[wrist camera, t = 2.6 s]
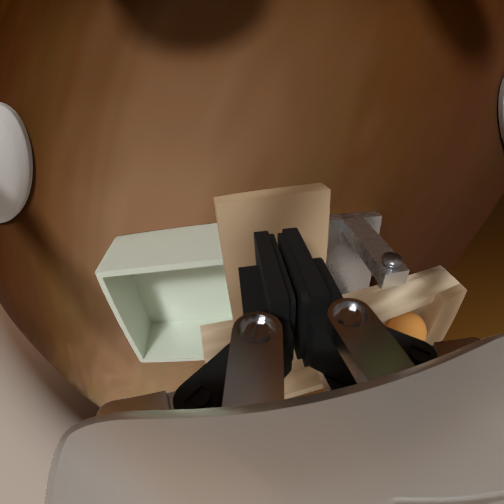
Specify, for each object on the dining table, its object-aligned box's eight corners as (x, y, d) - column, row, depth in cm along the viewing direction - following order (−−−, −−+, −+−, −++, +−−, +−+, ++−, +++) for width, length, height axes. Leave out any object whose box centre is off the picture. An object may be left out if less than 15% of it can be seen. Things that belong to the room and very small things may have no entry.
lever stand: (377, 206, 24) (432, 260, 16) (361, 298, 30) (393, 359, 22) (317, 211, 24) (359, 272, 16) (311, 306, 30) (335, 374, 22)
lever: (462, 171, 15) (499, 190, 12) (417, 325, 23) (436, 349, 20) (168, 200, 12) (163, 236, 9) (218, 384, 20) (225, 422, 17)
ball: (411, 296, 19) (441, 323, 16) (400, 326, 21) (425, 352, 18) (380, 312, 18) (411, 344, 15) (370, 343, 20) (396, 373, 17)
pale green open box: (260, 218, 24) (270, 253, 19) (266, 312, 30) (274, 352, 25) (116, 236, 23) (94, 272, 18) (149, 322, 29) (140, 362, 24)
